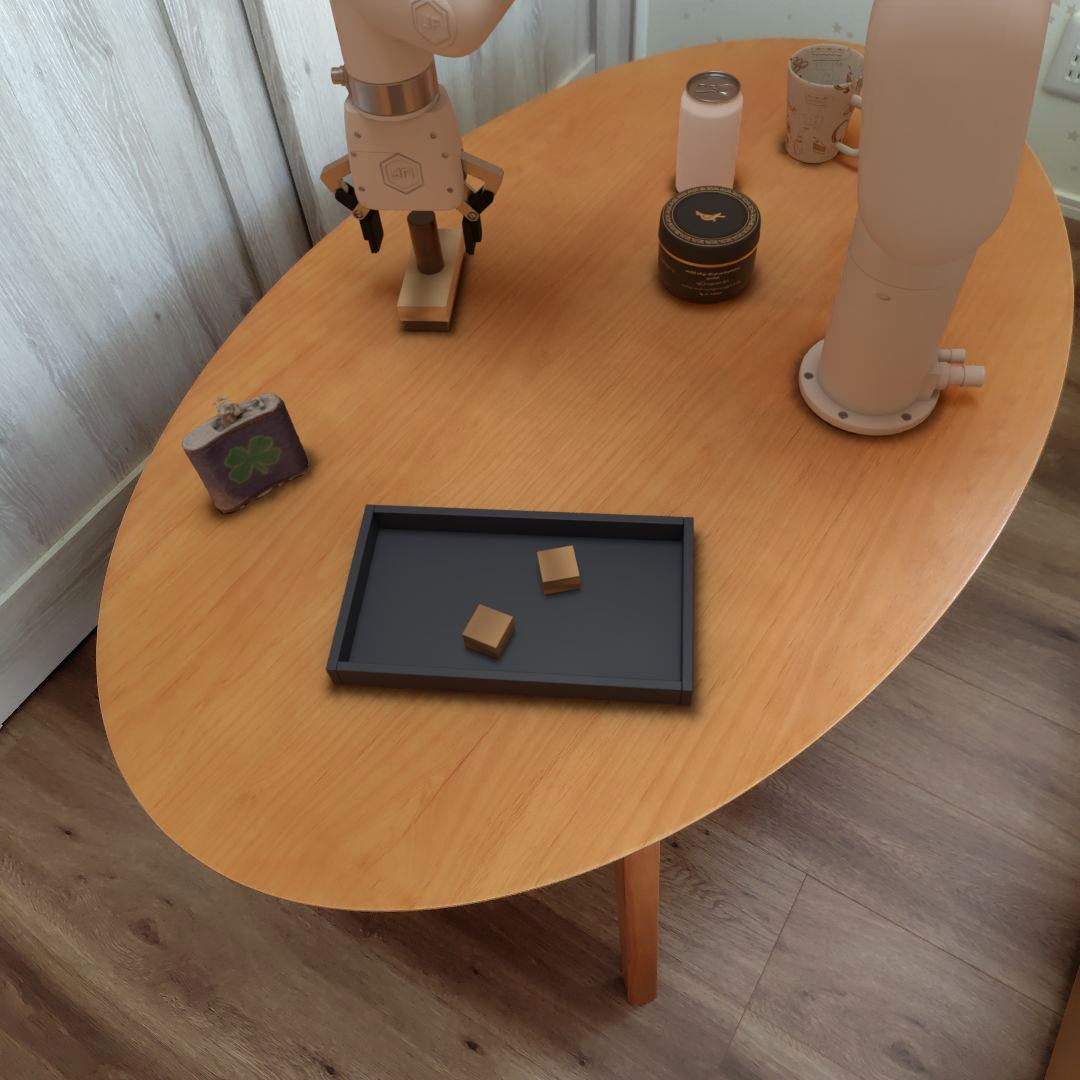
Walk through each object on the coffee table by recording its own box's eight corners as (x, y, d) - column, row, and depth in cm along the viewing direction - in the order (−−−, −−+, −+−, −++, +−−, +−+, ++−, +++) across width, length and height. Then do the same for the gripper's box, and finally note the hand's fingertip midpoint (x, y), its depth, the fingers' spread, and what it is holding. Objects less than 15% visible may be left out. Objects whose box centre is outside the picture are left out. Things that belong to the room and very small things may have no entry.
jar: (764, 301, 95) (775, 239, 89) (668, 316, 95) (672, 255, 89) (738, 239, 101) (746, 176, 95) (646, 253, 101) (649, 191, 94)
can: (730, 207, 104) (742, 105, 94) (671, 203, 105) (677, 101, 95) (735, 172, 108) (747, 69, 98) (678, 168, 109) (685, 66, 99)
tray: (690, 539, 80) (693, 516, 77) (689, 709, 71) (692, 691, 68) (373, 526, 83) (365, 504, 80) (335, 688, 74) (325, 669, 71)
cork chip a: (573, 558, 79) (572, 545, 77) (580, 588, 77) (579, 575, 75) (538, 564, 78) (536, 551, 77) (544, 595, 77) (542, 582, 75)
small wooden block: (515, 629, 75) (513, 616, 73) (498, 659, 74) (495, 648, 72) (482, 615, 76) (479, 603, 74) (464, 646, 75) (461, 634, 73)
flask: (223, 518, 84) (178, 440, 75) (210, 498, 86) (164, 419, 77) (315, 468, 87) (281, 387, 78) (300, 449, 88) (266, 368, 80)
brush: (467, 255, 102) (455, 178, 95) (451, 332, 96) (436, 257, 88) (422, 254, 103) (406, 178, 95) (403, 331, 96) (384, 256, 88)
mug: (806, 118, 112) (821, 35, 104) (894, 161, 107) (918, 76, 99) (760, 149, 110) (772, 66, 101) (849, 195, 104) (869, 110, 96)
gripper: (284, 106, 79) (333, 268, 93) (488, 106, 77) (505, 272, 92) (305, 57, 83) (348, 220, 97) (498, 57, 82) (514, 222, 96)
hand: (424, 245), depth 94 cm, fingers open, 9 cm apart
